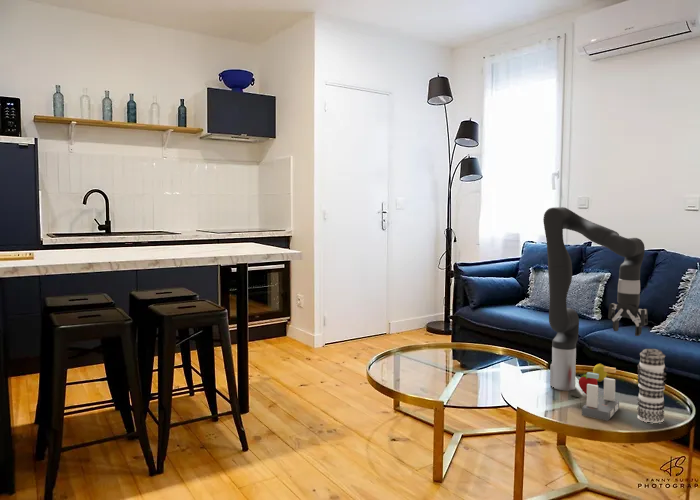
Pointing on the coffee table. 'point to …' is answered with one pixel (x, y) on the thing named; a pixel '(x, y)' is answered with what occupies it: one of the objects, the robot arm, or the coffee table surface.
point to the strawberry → (586, 382)
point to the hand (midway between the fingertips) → (626, 333)
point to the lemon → (600, 372)
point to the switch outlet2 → (609, 385)
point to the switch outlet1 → (592, 391)
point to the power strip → (601, 409)
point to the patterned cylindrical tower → (651, 386)
